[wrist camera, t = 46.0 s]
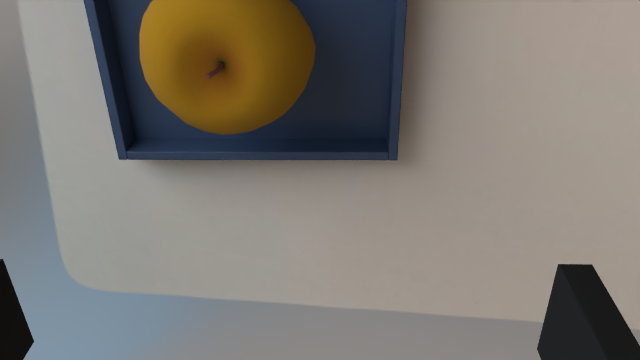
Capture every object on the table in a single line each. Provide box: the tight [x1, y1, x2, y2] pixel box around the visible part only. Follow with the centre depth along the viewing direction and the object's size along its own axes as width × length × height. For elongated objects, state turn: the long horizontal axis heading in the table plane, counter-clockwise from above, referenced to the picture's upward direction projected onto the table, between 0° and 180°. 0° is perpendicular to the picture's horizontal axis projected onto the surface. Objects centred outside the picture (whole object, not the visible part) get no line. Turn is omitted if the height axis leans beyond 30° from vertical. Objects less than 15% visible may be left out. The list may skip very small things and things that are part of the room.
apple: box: [139, 0, 316, 135], centre depth 31 cm, size 9×9×9 cm
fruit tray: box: [84, 0, 407, 160], centre depth 34 cm, size 18×16×3 cm
